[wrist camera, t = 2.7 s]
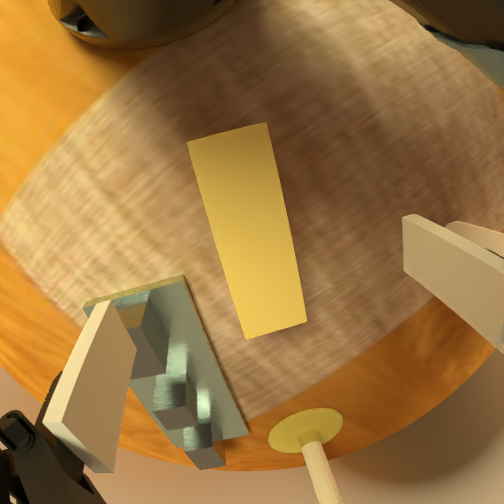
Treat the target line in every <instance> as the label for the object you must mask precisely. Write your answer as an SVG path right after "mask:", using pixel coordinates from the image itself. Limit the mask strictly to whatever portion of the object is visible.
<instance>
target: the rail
mask: <svg viewBox="0 0 504 504" xmlns="http://www.w3.org/2000/svg"><path fill="white" fill-rule="evenodd" d="M108 300H112V302H113V304H114V306H115V308H116V310H117V312H118V314H119V316H120V318H121V320H122V322H123V324H124V326H125V328H126V330H127V332H128V334H129V336H130V337H131V339H132V341H133V343H134V345H135V347H136V348H137V351H136V355H135V359H134V364H133V368H132V373H131V377H130V382H129V386H130V387H131V389H132V390H133V392H134V393H135V394H136V396H137V397H138V399H139V400H140V401H141V403H142V404H143V406H144V407H145V408H146V410H147V411H148V412H149V414H150V415H151V416H152V418H153V419H154V420H155V422H156V423H157V424H158V425H159V427H160V428H161V429H162V431H163V432H164V433H165V434H166V436H167V437H168V438H169V439H170V440H171V442H172V443H173V444H174V445H175V446H176V448H177V447H184V452H185V453H186V454H187V456H188V457H189V458H190V459H191V460H192V461H193V463H194V464H195V465H196V466H197V467H198V468H199V469H200V470H202V469H209V468H215V467H221V466H226V459H225V450H224V442H223V440H226V439H230V438H235V437H240V436H244V435H249V430H248V427H247V425H246V422H245V420H244V418H243V416H242V414H241V412H240V410H239V408H238V405H237V403H236V401H235V399H234V397H233V395H232V392H231V390H230V388H229V386H228V383H227V381H226V379H225V377H224V374H223V372H222V370H221V367H220V365H219V363H218V361H217V358H216V356H215V353H214V351H213V349H212V346H211V344H210V342H209V339H208V337H207V334H206V332H205V329H204V327H203V324H202V322H201V319H200V317H199V314H198V312H197V309H196V307H195V304H194V302H193V299H192V296H191V294H190V291H189V288H188V286H187V283H186V280H185V278H184V275H181V276H177V277H174V278H170V279H166V280H163V281H159V282H156V283H152V284H148V285H145V286H141V287H138V288H134V289H130V290H127V291H123V292H119V293H116V294H112V295H109V296H105V297H101V298H98V299H94V300H90V301H87V302H86V303H85V305H84V306H83V309H84V311H85V313H86V315H87V317H88V319H89V317H90V315H91V313H92V311H93V309H94V307H95V305H96V304H97V303H100V302H104V301H108Z"/></svg>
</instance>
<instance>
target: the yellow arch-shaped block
mask: <svg viewBox="0 0 504 504" xmlns="http://www.w3.org/2000/svg"><path fill="white" fill-rule="evenodd" d="M186 143H187V147H188V150H189V154H190V158H191V161H192V165H193V168H194V172H195V175H196V179H197V182H198V186H199V190H200V193H201V196H202V200H203V203H204V207H205V210H206V214H207V217H208V220H209V224H210V227H211V231H212V234H213V237H214V241H215V244H216V247H217V251H218V254H219V257H220V260H221V264H222V267H223V270H224V273H225V277H226V280H227V283H228V286H229V289H230V292H231V296H232V299H233V302H234V305H235V308H236V311H237V314H238V318H239V321H240V324H241V327H242V330H243V333H244V336H245V339H250V338H253V337H257V336H260V335H264V334H268V333H271V332H274V331H278V330H281V329H285V328H288V327H291V326H294V325H298V324H301V323H304V322H307V317H306V311H305V305H304V300H303V294H302V289H301V283H300V278H299V273H298V267H297V262H296V257H295V252H294V247H293V242H292V237H291V232H290V227H289V222H288V217H287V212H286V207H285V203H284V198H283V193H282V189H281V184H280V179H279V175H278V170H277V166H276V161H275V157H274V153H273V148H272V144H271V140H270V135H269V131H268V127H267V123H266V122H265V123H259V124H254V125H250V126H245V127H241V128H237V129H233V130H229V131H225V132H221V133H217V134H213V135H210V136H206V137H202V138H199V139H195V140H192V141H189V142H186Z"/></svg>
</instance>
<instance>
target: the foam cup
mask: <svg viewBox="0 0 504 504" xmlns="http://www.w3.org/2000/svg"><path fill="white" fill-rule="evenodd" d="M444 228H446V229H448V230H450V231H452V232H454V233H456V234H458V235H460V236H462V237H464V238H466V239H468V240H470V241H471V242H473V243H475V244H477V245H479V246H481V247H483V248H486V249H489V250H492V251H493V252H495V253H497V254H499V256H502V257H504V233H501V232H497V231H494V230H491V229H487V228H484V227H480V226H477V225H473V224H470V223H466V222H462V221H458V220H457V221H454V222H451V223H448V224H447V225H446V226H445V227H444ZM497 349H499V350H500V351H501V352H502V353H503V354H504V343H502V344H501V345H500V346H498V347H497Z"/></svg>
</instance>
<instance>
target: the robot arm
mask: <svg viewBox="0 0 504 504" xmlns="http://www.w3.org/2000/svg"><path fill="white" fill-rule="evenodd" d="M235 1H236V0H48V3H49V6H50V9H51V11H52V13H53V15H54V16H55V18H56V19H57V21H58V22H59V23H60V24H61V25H62V26H63V27H64V28H65V29H67V30H68V31H69V32H71V33H72V34H74V35H75V36H77V37H78V38H80V39H81V40H83V41H85V42H87V43H89V44H92V45H95V46H98V47H103V48H108V49H118V50H131V49H142V48H149V47H154V46H159V45H162V44H166V43H169V42H173V41H176V40H178V39H181V38H183V37H186V36H188V35H190V34H192V33H194V32H196V31H198V30H200V29H202V28H204V27H205V26H207V25H209V24H210V23H212V22H213V21H215V20H216V19H217V18H219V17H220V16H221V15H222V14H224V13H225V12H226V11H227V10H228V9H229V8H230V7H231V6H232V5H233V4H234V3H235ZM390 1H391V2H393V3H394V4H396V5H397V6H399V7H400V8H402V9H403V10H404V11H406V12H407V13H409V14H410V15H411V16H413V17H414V18H416V20H417V21H418V22H419V24H420V25H421V26H422V27H423V28H424V29H425V30H427V31H428V32H430V33H431V34H433V36H434V37H435V38H436V39H437V40H438V41H440V42H442V43H444V44H446V45H447V46H449V47H451V48H454V49H456V50H457V51H458V52H460V53H461V54H462V55H463V56H464V57H465V58H467V59H468V60H469V61H470V62H471V63H472V64H473V65H474V66H476V67H477V68H478V69H479V70H480V71H481V72H482V73H483V74H484V75H485V76H486V77H488V78H489V79H490V80H491V81H493V82H494V83H495V84H497V85H498V86H500V87H501V88H502V89H504V0H390ZM402 232H403V271H405V272H406V273H407V274H408V275H410V276H411V277H412V278H414V279H415V280H416V281H417V282H419V283H420V284H421V285H422V286H424V287H425V288H426V289H427V290H429V291H430V292H431V293H432V294H434V295H435V296H436V297H437V298H438V299H440V300H441V301H442V302H443V303H444V304H446V305H447V306H448V307H449V308H450V309H452V310H453V311H454V312H455V313H456V314H458V315H459V316H460V317H461V318H462V319H463V320H465V321H466V322H467V323H468V324H469V325H470V326H471V327H473V328H474V329H475V330H476V331H477V332H478V333H479V334H480V335H482V336H483V337H484V338H485V339H486V340H487V341H488V342H489V343H490V344H492V345H493V346H494V347H495V348H497V347H498V346H500V345H501V344H502V343H504V257H502V256H499V254H497V253H495V252H493V251H492V250H489V249H486V248H483V247H481V246H479V245H477V244H475V243H473V242H471V241H470V240H468V239H466V238H464V237H462V236H460V235H458V234H456V233H454V232H452V231H450V230H448V229H446V228H444V227H442V226H440V225H438V224H436V223H434V222H432V221H430V220H428V219H425V218H423V217H421V216H419V215H417V214H415V213H414V214H411V215H407V216H404V217H402ZM136 351H137V348H136V347H135V345H134V343H133V341H132V339H131V337H130V336H129V334H128V332H127V330H126V328H125V326H124V324H123V322H122V320H121V318H120V316H119V314H118V312H117V310H116V308H115V306H114V304H113V302H112V300H108V301H104V302H100V303H97V304H96V305H95V307H94V309H93V311H92V313H91V315H90V317H89V319H88V321H87V323H86V325H85V327H84V329H83V331H82V333H81V335H80V337H79V339H78V341H77V343H76V345H75V347H74V349H73V351H72V353H71V355H70V357H69V360H68V362H67V364H66V366H65V368H64V371H61V372H60V373H59V374H58V376H57V377H56V378H55V379H54V380H53V382H52V385H51V387H50V389H49V393H48V394H47V396H46V398H45V400H46V401H44V403H43V406H42V408H41V410H40V413H39V415H38V418H37V420H36V423H35V425H33V424H32V423H31V422H30V421H29V420H28V419H27V418H26V417H25V416H24V414H23V413H22V412H21V411H18V410H13V411H10V412H8V413H6V414H5V415H4V416H3V417H2V418H1V419H0V441H1V442H2V443H3V444H4V445H5V446H6V447H7V448H8V449H6V450H1V449H0V504H13V503H11V502H10V496H9V495H11V496H12V497H14V498H15V499H16V502H17V504H106V502H105V501H104V500H103V498H102V497H101V495H100V494H99V492H98V491H97V489H96V488H95V487H94V485H93V484H92V482H91V481H90V479H89V477H88V476H87V475H86V474H84V473H83V469H84V464H85V465H86V466H88V467H89V468H90V469H91V470H92V471H93V472H95V473H114V467H115V460H116V453H117V447H118V441H119V435H120V429H121V423H122V417H123V412H124V407H125V402H126V397H127V392H128V387H129V382H130V377H131V373H132V368H133V364H134V359H135V355H136Z"/></svg>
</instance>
